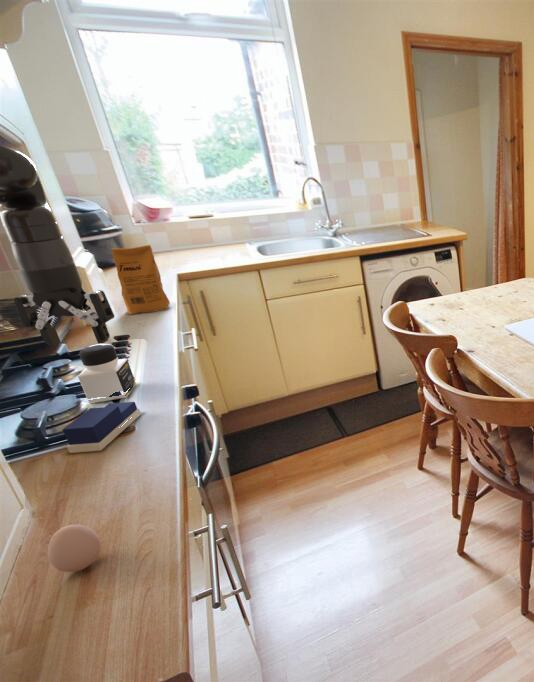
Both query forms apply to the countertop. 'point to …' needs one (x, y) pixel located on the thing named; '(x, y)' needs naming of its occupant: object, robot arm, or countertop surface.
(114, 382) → the medicine bottle
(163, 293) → the coffee package
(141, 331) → the countertop surface
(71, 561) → the egg
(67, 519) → the countertop surface
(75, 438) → the navy and white sponge
